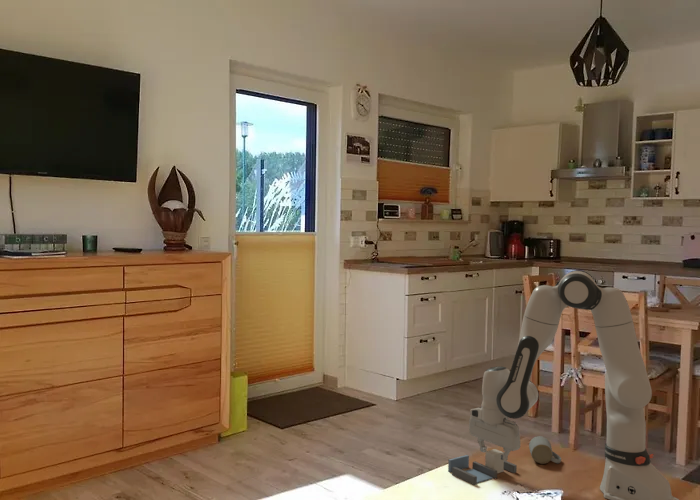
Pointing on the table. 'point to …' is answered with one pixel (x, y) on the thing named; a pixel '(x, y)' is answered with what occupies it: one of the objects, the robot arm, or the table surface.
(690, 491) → the table surface
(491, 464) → the cord plug
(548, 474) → the table surface
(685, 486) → the table surface
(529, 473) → the table surface
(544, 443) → the ceramic mug
